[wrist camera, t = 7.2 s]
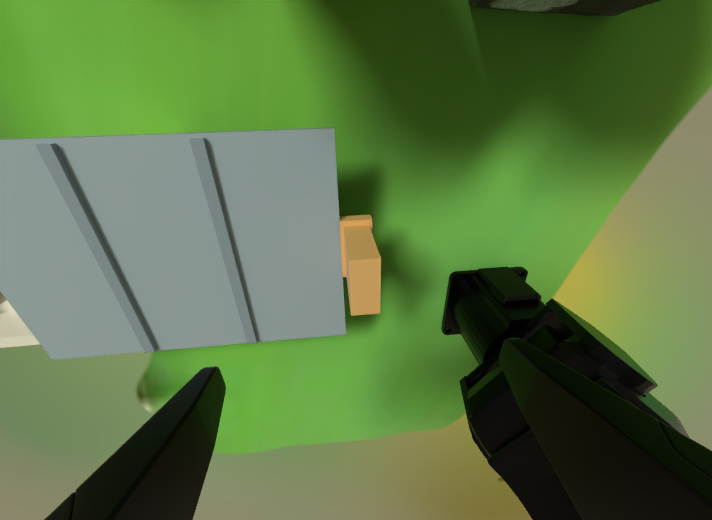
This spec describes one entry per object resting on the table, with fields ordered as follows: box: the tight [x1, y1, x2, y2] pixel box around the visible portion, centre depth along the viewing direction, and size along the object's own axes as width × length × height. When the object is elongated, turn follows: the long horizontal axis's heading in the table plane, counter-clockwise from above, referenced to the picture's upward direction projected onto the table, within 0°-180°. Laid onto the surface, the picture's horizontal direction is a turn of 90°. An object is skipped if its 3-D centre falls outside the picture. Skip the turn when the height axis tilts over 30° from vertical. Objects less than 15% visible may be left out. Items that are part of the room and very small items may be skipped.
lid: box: [0, 127, 381, 360], centre depth 14 cm, size 13×21×5 cm, turn 92°
